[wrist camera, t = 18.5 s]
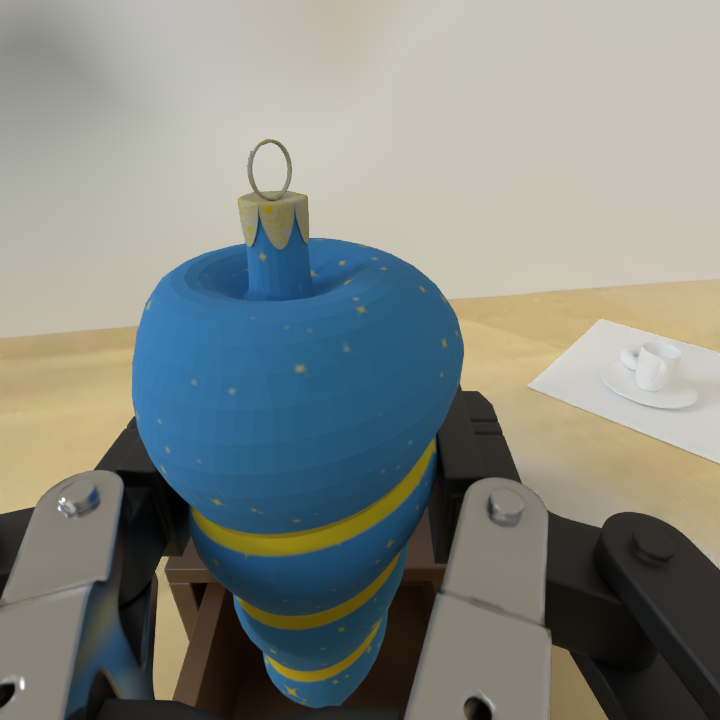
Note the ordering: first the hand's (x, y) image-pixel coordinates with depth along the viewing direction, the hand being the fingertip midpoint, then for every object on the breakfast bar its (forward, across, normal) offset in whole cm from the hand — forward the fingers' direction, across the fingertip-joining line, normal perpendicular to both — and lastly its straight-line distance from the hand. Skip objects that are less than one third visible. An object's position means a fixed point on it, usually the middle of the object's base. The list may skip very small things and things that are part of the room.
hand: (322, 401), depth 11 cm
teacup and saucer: (+28, -30, +18) cm, 45 cm away
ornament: (-3, 0, +9) cm, 10 cm away
